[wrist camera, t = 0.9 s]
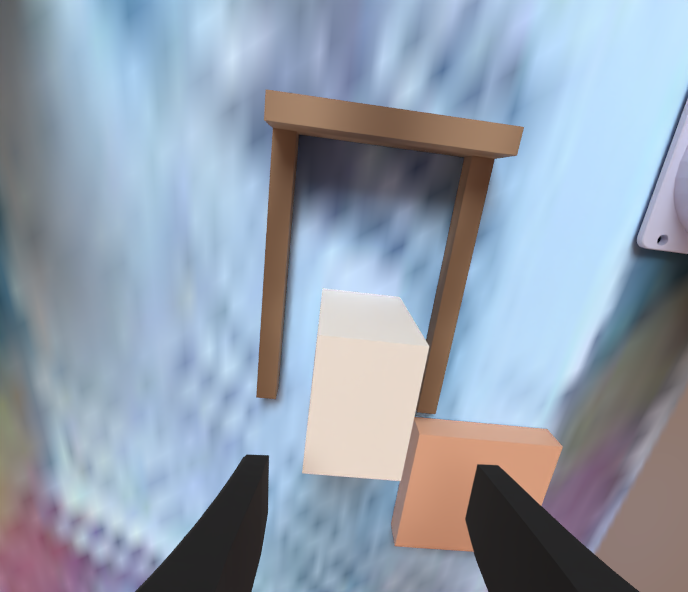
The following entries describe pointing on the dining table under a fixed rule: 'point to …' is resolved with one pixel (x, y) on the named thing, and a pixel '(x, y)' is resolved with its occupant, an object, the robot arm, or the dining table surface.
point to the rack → (391, 131)
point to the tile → (462, 476)
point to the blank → (363, 386)
